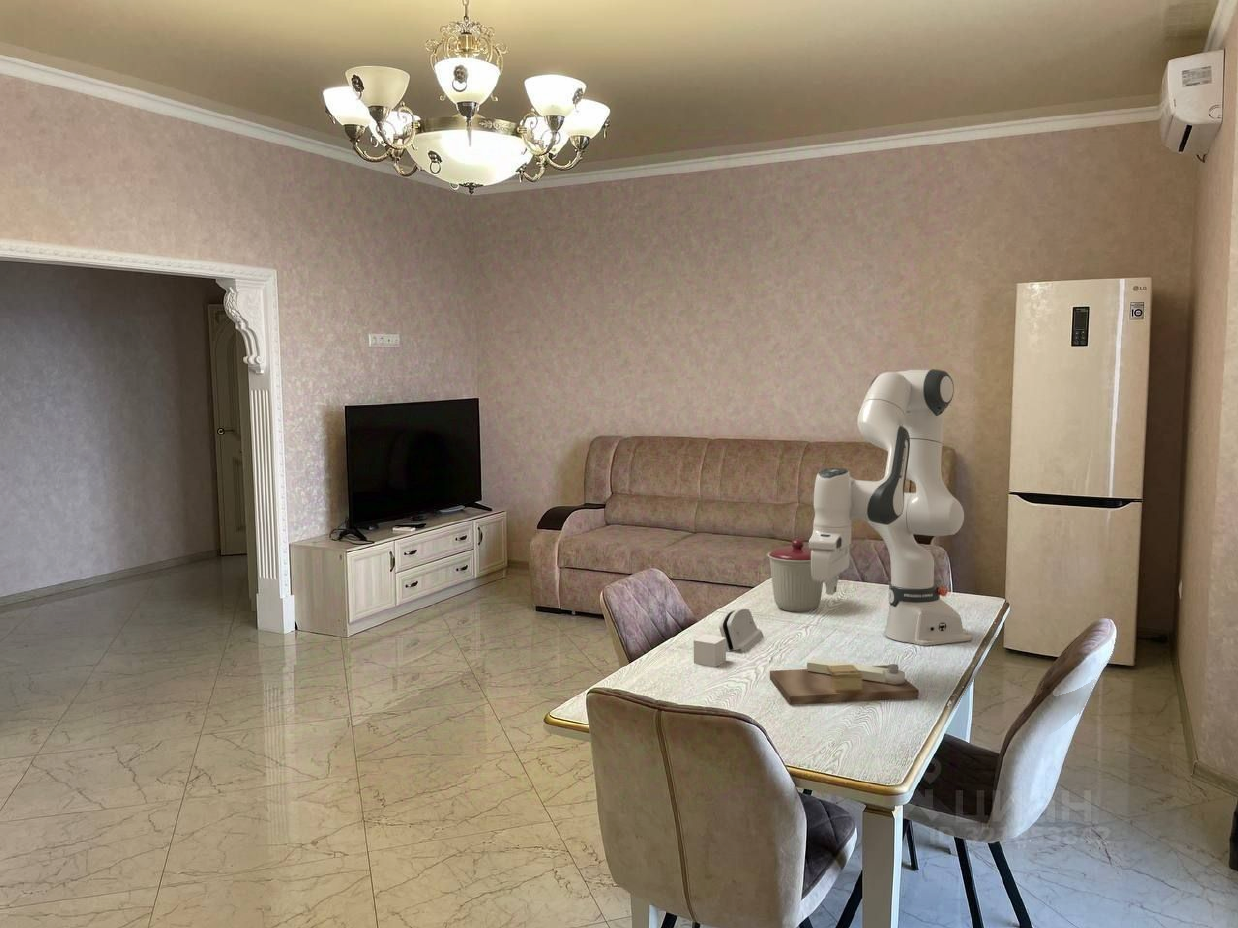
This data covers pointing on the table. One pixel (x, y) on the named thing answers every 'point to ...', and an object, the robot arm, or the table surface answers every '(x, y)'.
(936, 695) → the table surface
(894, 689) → the board
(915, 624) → the robot arm
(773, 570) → the canister
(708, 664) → the light grey cube
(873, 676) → the link
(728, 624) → the hinge
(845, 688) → the block
